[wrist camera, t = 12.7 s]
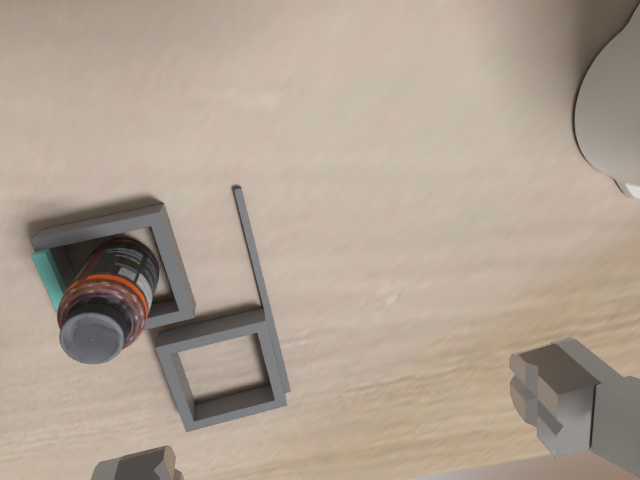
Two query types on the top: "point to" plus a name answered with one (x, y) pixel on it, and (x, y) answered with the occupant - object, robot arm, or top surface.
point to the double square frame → (177, 311)
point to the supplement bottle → (108, 301)
